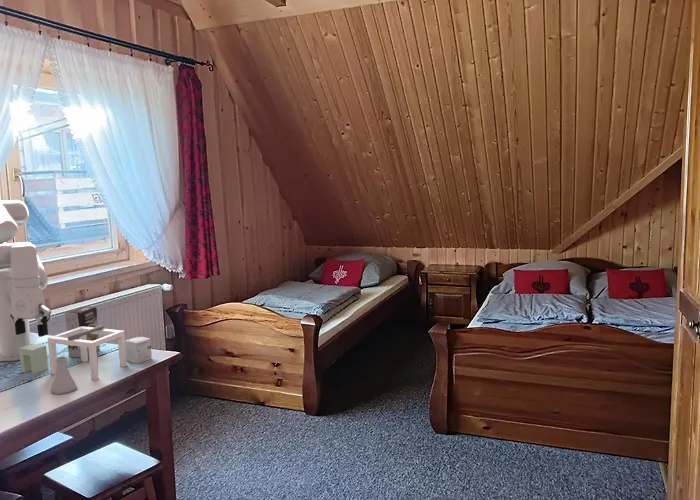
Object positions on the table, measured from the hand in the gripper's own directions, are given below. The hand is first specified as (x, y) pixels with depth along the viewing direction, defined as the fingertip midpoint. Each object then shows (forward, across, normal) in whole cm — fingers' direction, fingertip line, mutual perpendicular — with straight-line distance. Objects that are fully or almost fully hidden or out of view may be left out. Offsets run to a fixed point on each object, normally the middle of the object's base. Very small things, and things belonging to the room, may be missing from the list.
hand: (32, 334), depth 182 cm
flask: (+13, +22, -10) cm, 27 cm away
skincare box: (+13, +25, +19) cm, 34 cm away
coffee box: (+12, +1, +19) cm, 23 cm away
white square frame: (+12, +16, +6) cm, 21 cm away
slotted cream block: (+12, -1, 0) cm, 12 cm away
